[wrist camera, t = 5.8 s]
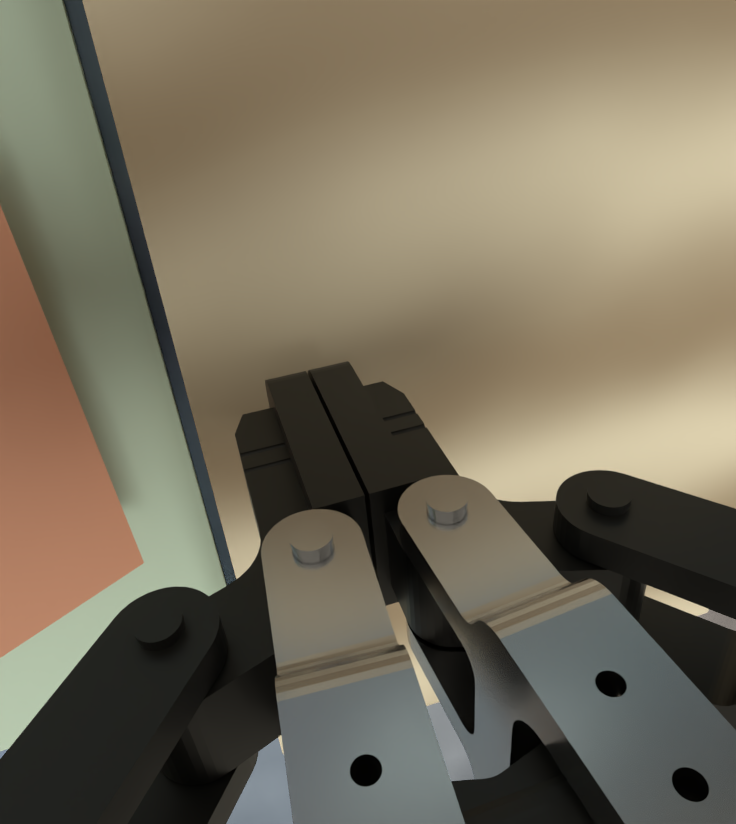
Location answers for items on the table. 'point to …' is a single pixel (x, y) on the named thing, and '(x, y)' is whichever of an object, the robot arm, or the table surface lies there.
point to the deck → (446, 225)
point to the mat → (90, 340)
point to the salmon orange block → (48, 475)
